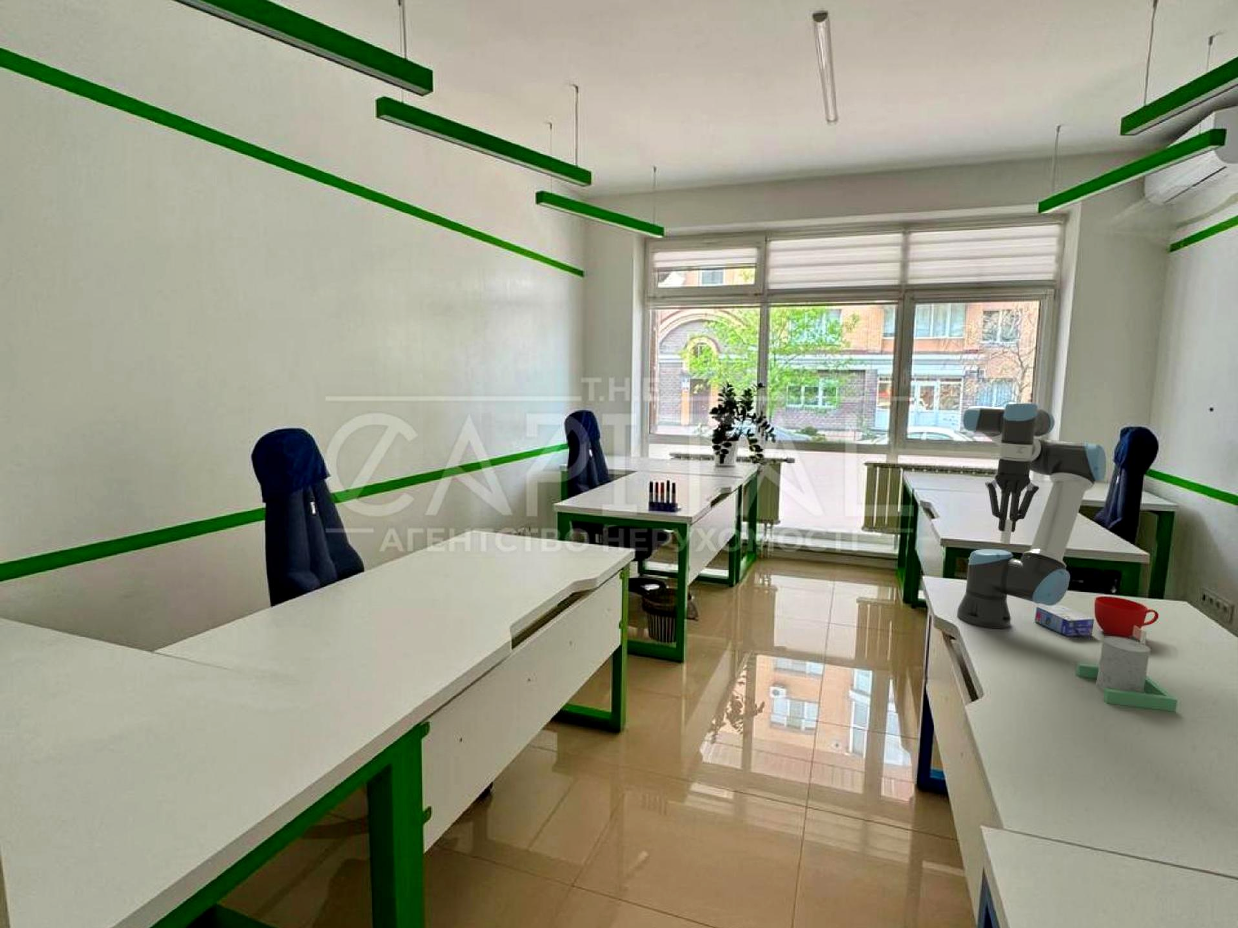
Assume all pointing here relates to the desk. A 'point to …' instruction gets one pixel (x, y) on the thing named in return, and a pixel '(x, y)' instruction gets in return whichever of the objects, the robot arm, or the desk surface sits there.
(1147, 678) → the green angular frame
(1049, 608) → the ink cartridge box
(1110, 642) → the speckled concrete drum
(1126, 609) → the ceramic cup
